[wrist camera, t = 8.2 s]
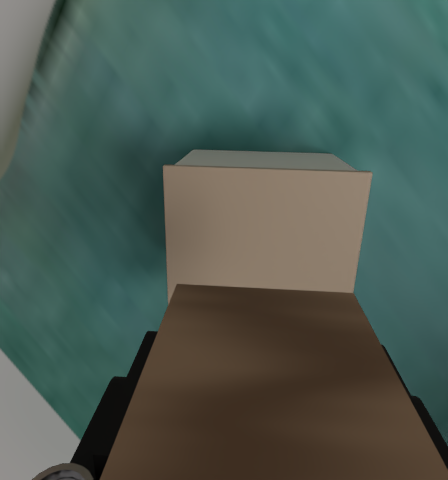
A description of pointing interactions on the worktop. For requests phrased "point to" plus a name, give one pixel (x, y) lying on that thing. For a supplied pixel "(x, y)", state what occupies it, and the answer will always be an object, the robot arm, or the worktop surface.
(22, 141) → the worktop surface
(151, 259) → the worktop surface
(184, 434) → the walnut block
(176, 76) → the worktop surface
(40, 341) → the worktop surface
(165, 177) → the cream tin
